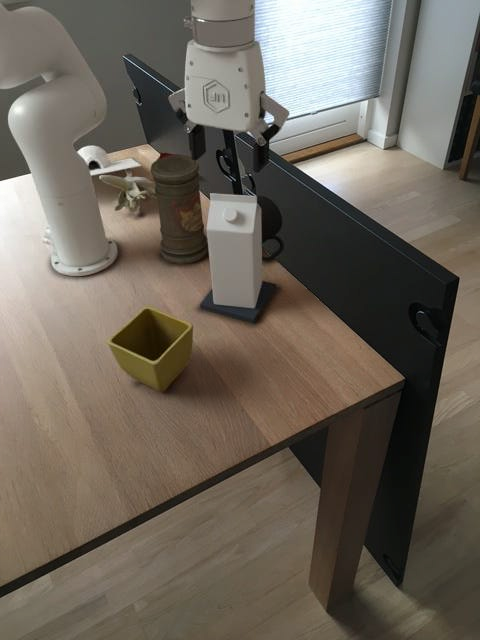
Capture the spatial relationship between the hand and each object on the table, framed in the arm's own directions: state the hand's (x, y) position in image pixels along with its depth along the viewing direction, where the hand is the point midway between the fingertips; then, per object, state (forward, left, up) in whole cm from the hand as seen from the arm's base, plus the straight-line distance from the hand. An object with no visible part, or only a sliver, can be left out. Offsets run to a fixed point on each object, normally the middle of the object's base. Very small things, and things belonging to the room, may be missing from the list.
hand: (228, 162), depth 77 cm
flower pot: (-3, -21, -25) cm, 33 cm away
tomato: (-32, +34, -18) cm, 50 cm away
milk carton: (0, 0, -24) cm, 24 cm away
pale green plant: (-35, +21, -25) cm, 48 cm away
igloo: (-48, +26, -22) cm, 59 cm away
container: (-15, +9, -25) cm, 31 cm away
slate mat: (0, 0, -25) cm, 25 cm away
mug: (-2, +20, -22) cm, 30 cm away
